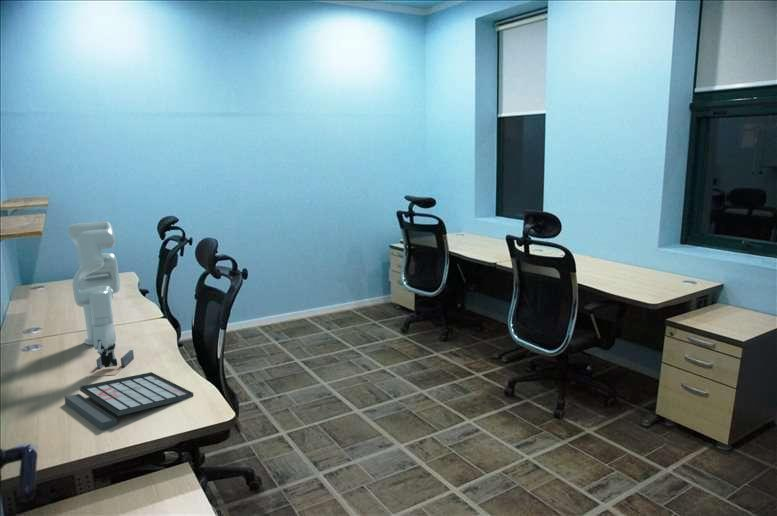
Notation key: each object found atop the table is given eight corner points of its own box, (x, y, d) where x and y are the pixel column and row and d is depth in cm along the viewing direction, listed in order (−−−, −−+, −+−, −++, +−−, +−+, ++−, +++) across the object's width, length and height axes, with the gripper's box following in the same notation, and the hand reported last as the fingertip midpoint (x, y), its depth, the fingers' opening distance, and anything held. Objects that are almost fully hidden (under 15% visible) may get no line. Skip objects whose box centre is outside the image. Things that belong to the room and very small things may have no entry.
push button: (99, 370, 217) (96, 346, 215) (100, 365, 222) (96, 342, 220) (118, 366, 220) (115, 343, 218) (118, 362, 225) (114, 339, 223)
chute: (108, 359, 232) (106, 351, 231) (134, 358, 233) (132, 349, 232) (97, 368, 222) (96, 359, 222) (124, 367, 223) (123, 358, 222)
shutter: (151, 389, 215) (65, 408, 191) (151, 372, 215) (64, 389, 191) (193, 407, 195) (102, 431, 171) (193, 388, 194) (102, 410, 170)
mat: (97, 370, 221) (97, 369, 221) (122, 368, 222) (121, 368, 222) (89, 376, 215) (89, 376, 214) (115, 375, 215) (115, 374, 215)
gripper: (102, 314, 225) (108, 355, 229) (83, 327, 209) (89, 371, 212) (120, 313, 226) (126, 354, 229) (103, 326, 209) (109, 370, 213)
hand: (108, 362), depth 221 cm, fingers closed on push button, 3 cm apart
